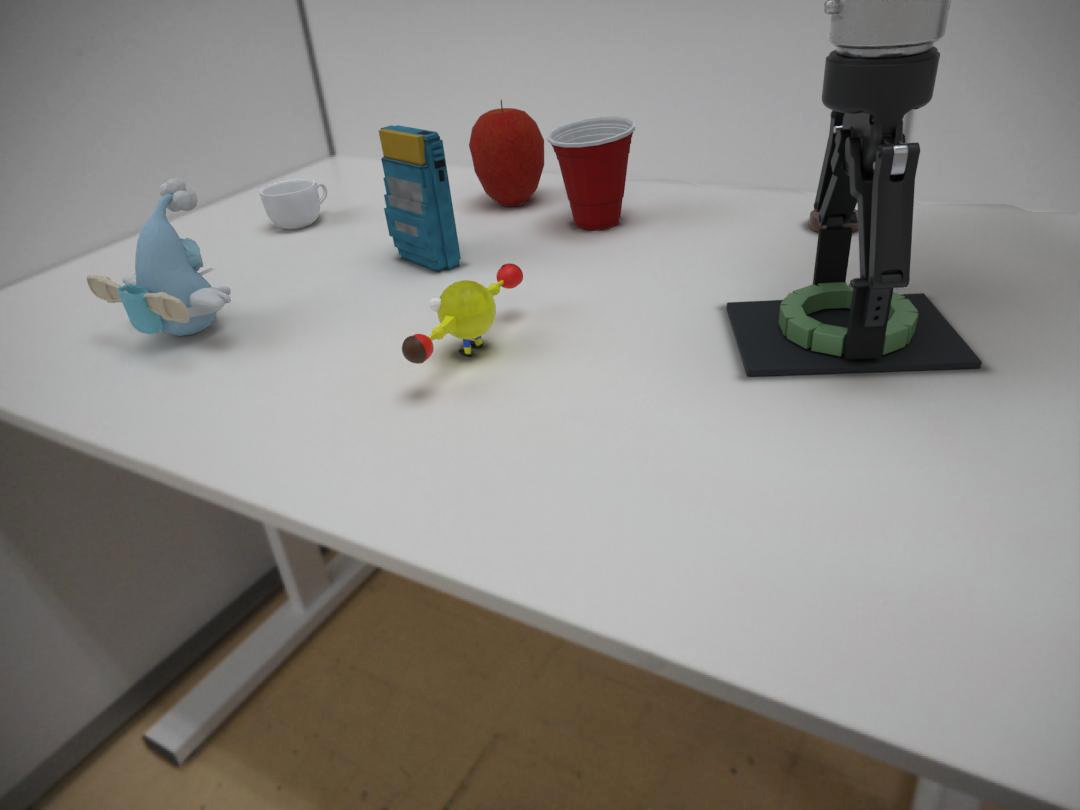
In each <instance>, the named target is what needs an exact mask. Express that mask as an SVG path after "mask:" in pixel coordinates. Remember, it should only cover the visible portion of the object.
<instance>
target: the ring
mask: <svg viewBox="0 0 1080 810" xmlns="http://www.w3.org/2000/svg"><path fill="white" fill-rule="evenodd" d="M852 294H853V288H852V287H851V285H850V283H849V284H847V282H836V283H819V284H818V286H816V285H814V284H813V283H812V284H810V285H806V286H804V287H801V288H798V289H794V290H792V292H789V293H788V294H787V295H786V297H784V298H783V299H782V300H783V301H782V302H781V305H780V313H779V325H780V328H781V330H782V332H783V335H784V336H787V339H789V340H791V341H792V342H794V343H796V344H798V345H800V346H801V347H803V348H805V349H808V348H811V347H812V348H811V351H815V352H820V353H825V354H830V355H835V356H842V354H843V353H844V349H845V343H846V336H847V329H848V328H844V327H838V326H833V325H827V324H823V323H821V322H819V321H817V320H815V319H813V318H811V317H809V316H807V314H810V313H813V312H816V311H819V310H822V309H834V308H851V301H852ZM917 319H918V310H917V309H916V308H915V307H914V305H913V304H912V303H911V302H910V300H909V299H905V296H902V295H900V294H899V293H897V292H895V291H893V295H892V300H891V306H890V312H889V317H888V323H887V329H886V334H885V340H884V346H883V351H882V355H884V354H887V353H890V352H892V351H895V350H898V349H900V348H903V347H905V345H906V344H909V342H910V340H911V338H912V337H913V335H914V333H915V329H916V324H917Z"/></svg>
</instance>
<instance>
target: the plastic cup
mask: <svg viewBox="0 0 1080 810" xmlns="http://www.w3.org/2000/svg"><path fill="white" fill-rule="evenodd" d="M636 125H637V123H636V120H635V119H633V118H631V117H626V116H619V115H614V116H613V115H611V116H606V115H605V116H596V117H589V118H582V119H579V120H575V121H571V122H567V123H565V124H562V125H559V126H557V127H555V128H554V129H551V131H549V132H548V134H547V135H546V140H547V142H548V143H549V144H550V145H551V147H552V149H553V152H554V153H555V156H556V157H555V158H556V159H557V161H558V164H559V168H560V173H561V177H562V181H563V184H564V185H563V186H564V189H565V192H566V197H567V200H568V202H569V207H570V211H571V215H572V220H573V221H574V225H575V227H577V228H578V229H581V230H586V231H602V230H607V229H611V228H614V227H616V226H617V225H618V224H620V219H621V215H622V208H623V200H624V198H625V197H624V196H625V191H626V189H625V188H626V181H627V173H628V172H627V171H628V165H629V164H628V163H629V155H630V153H631V152H630V151H631V144H632V139H633V135H634V132H635V131H636Z"/></svg>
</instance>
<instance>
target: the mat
mask: <svg viewBox="0 0 1080 810" xmlns="http://www.w3.org/2000/svg"><path fill="white" fill-rule="evenodd" d="M900 295H902V296H905V299H909V300H910V302H911V303H912V304H913V305H914V307H915V308H916V309H917V310H918V319H917V324H916V329H915V333H914V335H913V337H912V338H911V340H910V342H909V344H906V345H905V347H903V348H900V349H898V350H895V351H892V352H890V353H887V354H884V355H882V357H881V358H871V359H846V358H845V356H844V353H843V354H842V356H835V355H830V354H825V353H820V352H815V351H811V348H812V347H811V348H808V349H805V348H803V347H801V346H800V345H798V344H796V343H794V342H792V341H791V340H789V339H787V336H784V335H783V332H782V330H781V328H780V325H779V313H780V305H781V302H782V301H783V300H784V299H774V300H773V299H772V300H753V301H752V300H751V301H749V300H748V301H730V302H726V310H727V313H728V317H729V319H730V323H731V326H732V329H733V333H734V336H735V340H736V342H737V345H738V349H739V353H740V356H741V359H742V362H743V365H744V369H745V372H746V375H747V377H763V376H764V377H765V376H766V377H767V376H794V375H821V374H823V375H824V374H848V373H849V374H850V373H851V374H853V373H878V372H906V371H907V372H908V371H932V370H934V371H935V370H960V369H961V370H963V369H980V368H981V367H982V363H983V362H982V360H981V359H980V358H979V357H978V355H977V354H976V353H975V351H973V350H972V348H971V347H970V346H969V344H968V343H966V341H965V340H964V339H963V338H962V337H961V335H960V334H959V333H958V332H957V330H956V329H955V328H954V327H953V326H952V325H951V324H950V322H949V321H948V320H947V319H946V318H945V316H944V315H943V314H942V313H941V312H940V310H939V309H938V308H937V307H936V305H934V303H933V302H932V301H931V300H930V299H929V298H928V296H927V295H926V294H925V293H924V292H921V293H919V292H918V293H901V294H900ZM849 315H850V308H834V309H822V310H819V311H816V312H813V313H810V314H807V316H809V317H811V318H813V319H815V320H817V321H819V322H821V323H823V324H827V325H833V326H838V327H844V328H848V322H849Z"/></svg>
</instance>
